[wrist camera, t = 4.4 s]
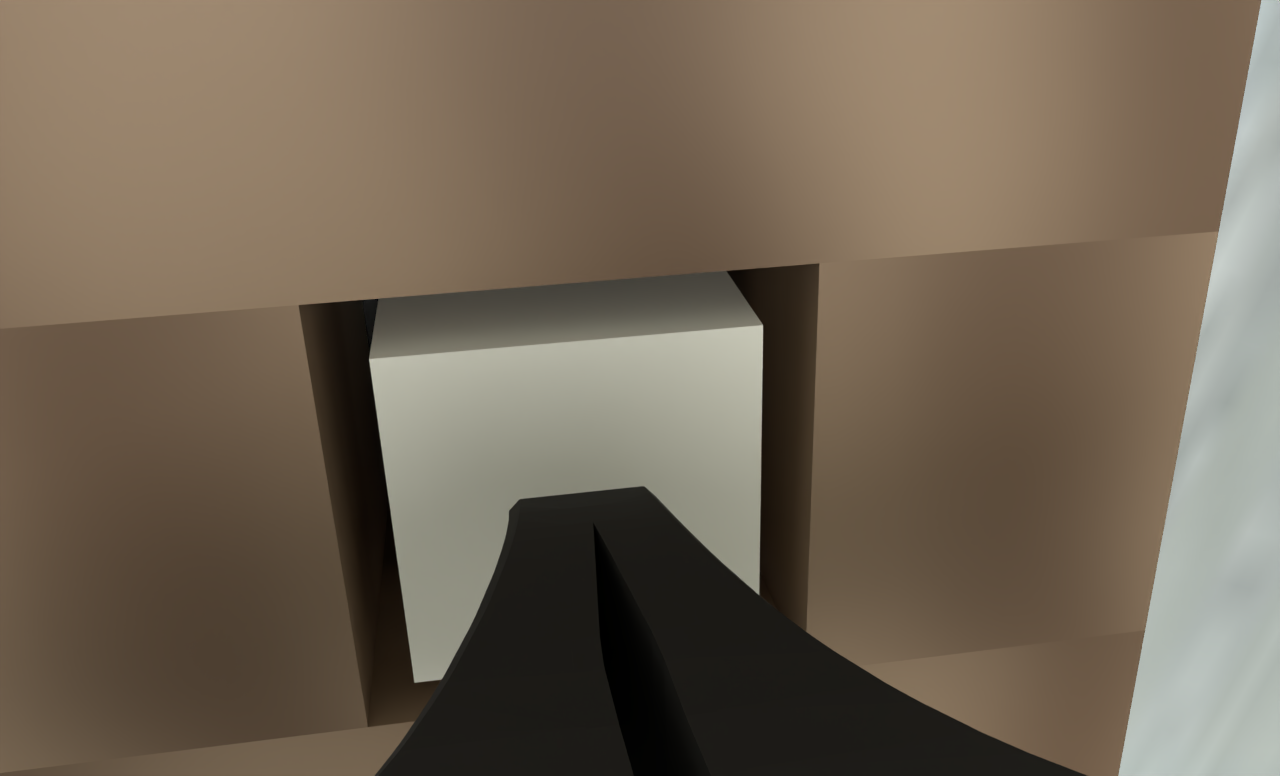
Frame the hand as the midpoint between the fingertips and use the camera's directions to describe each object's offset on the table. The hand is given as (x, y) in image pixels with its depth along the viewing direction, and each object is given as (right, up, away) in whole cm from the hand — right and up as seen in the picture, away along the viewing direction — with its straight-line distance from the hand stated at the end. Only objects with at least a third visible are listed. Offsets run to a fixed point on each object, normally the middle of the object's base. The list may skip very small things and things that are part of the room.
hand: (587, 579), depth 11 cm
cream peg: (-1, +3, +6) cm, 7 cm away
